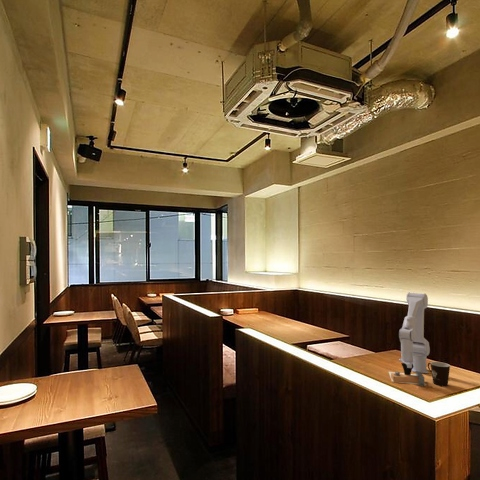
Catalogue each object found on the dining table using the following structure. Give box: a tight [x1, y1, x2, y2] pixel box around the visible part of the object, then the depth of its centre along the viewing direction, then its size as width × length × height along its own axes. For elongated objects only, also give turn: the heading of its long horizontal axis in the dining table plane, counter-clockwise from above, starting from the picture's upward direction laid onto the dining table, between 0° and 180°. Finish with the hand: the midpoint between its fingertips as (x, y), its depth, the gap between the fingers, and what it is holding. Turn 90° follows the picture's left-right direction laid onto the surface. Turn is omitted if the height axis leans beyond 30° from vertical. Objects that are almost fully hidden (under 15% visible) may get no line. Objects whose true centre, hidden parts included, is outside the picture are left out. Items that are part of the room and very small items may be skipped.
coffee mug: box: [427, 361, 451, 388], centre depth 174 cm, size 12×9×10 cm
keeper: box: [415, 371, 425, 387], centre depth 174 cm, size 9×2×4 cm, turn 162°
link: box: [390, 373, 419, 383], centre depth 177 cm, size 15×5×2 cm, turn 77°
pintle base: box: [388, 371, 427, 386], centre depth 181 cm, size 16×16×4 cm
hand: (407, 377), depth 179 cm, fingers closed
